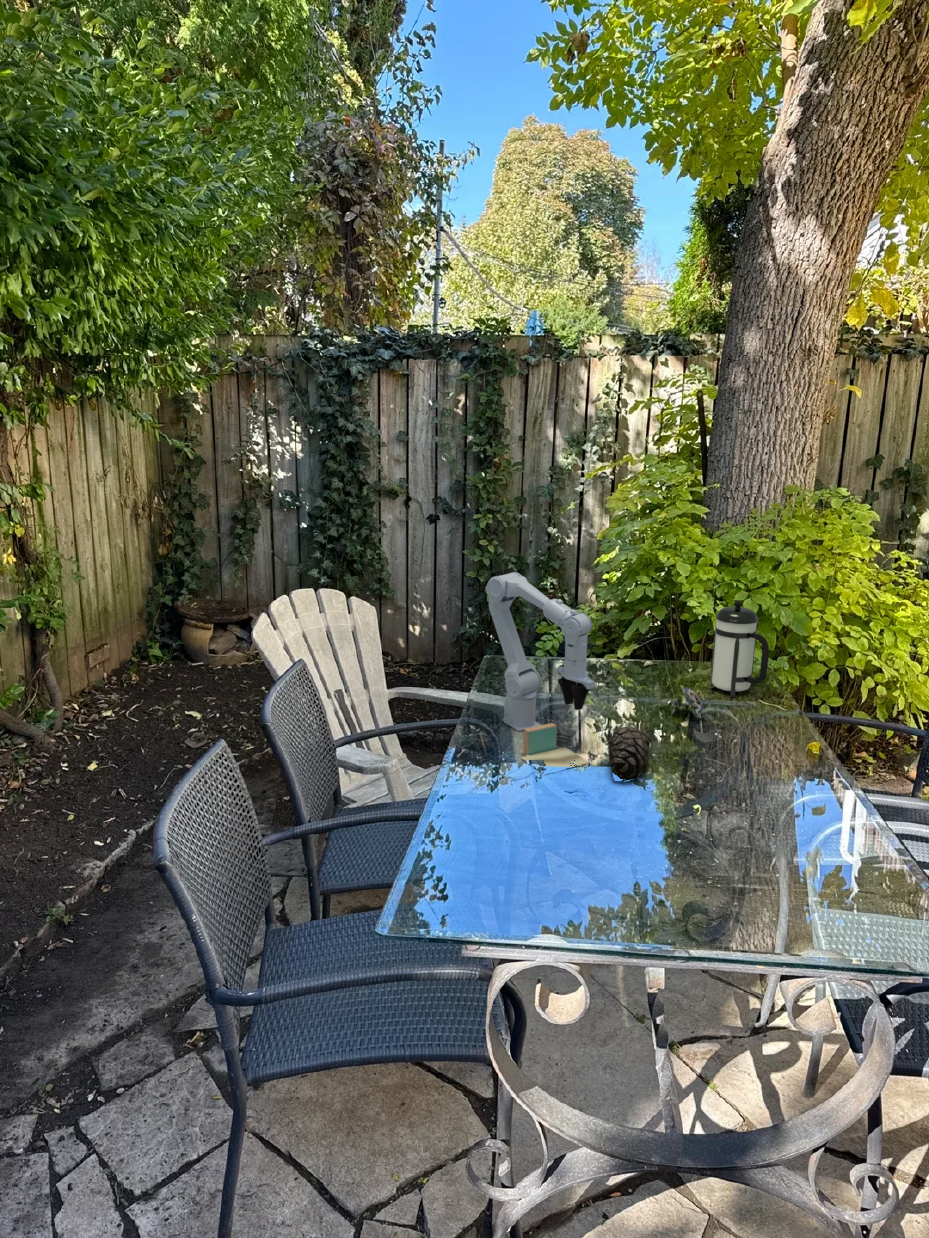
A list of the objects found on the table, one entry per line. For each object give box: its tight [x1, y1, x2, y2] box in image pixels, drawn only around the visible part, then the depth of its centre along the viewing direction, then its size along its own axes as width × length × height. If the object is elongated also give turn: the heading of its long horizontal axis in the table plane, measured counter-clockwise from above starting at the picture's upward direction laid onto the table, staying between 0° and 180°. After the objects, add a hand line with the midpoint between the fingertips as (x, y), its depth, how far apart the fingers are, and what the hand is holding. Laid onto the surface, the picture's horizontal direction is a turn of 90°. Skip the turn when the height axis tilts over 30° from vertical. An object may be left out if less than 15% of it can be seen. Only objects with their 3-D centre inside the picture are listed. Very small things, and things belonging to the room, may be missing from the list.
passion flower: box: [665, 684, 707, 720], centre depth 235 cm, size 11×11×12 cm
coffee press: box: [706, 600, 770, 699], centre depth 253 cm, size 17×16×30 cm
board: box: [520, 746, 591, 768], centre depth 205 cm, size 11×14×1 cm
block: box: [523, 722, 558, 755], centre depth 210 cm, size 2×9×7 cm, turn 118°
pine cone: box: [608, 726, 651, 780], centre depth 199 cm, size 10×18×10 cm, turn 170°
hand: (573, 706), depth 215 cm, fingers open, 4 cm apart
